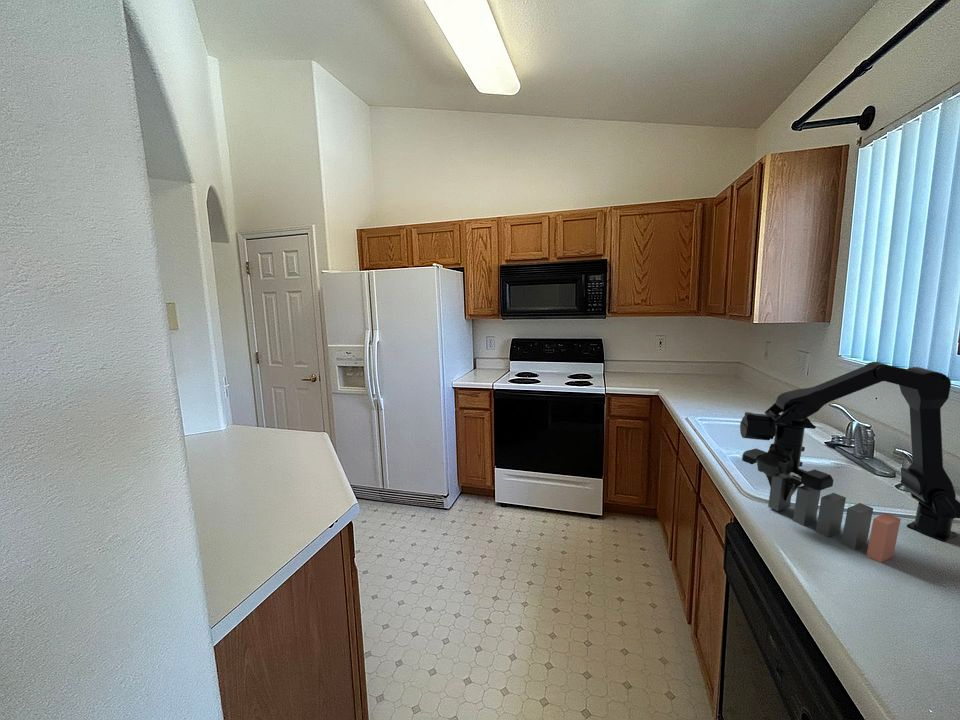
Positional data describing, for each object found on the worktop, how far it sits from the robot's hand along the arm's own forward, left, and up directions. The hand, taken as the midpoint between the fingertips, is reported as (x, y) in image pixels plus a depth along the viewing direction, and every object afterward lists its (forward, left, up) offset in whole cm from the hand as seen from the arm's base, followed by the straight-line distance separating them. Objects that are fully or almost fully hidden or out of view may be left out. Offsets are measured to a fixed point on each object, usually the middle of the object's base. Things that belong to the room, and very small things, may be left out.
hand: (780, 497), depth 104 cm
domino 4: (0, +16, -3) cm, 16 cm away
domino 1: (0, 0, -2) cm, 3 cm away
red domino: (0, +20, -3) cm, 21 cm away
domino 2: (0, +6, -3) cm, 7 cm away
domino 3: (0, +11, -3) cm, 11 cm away
